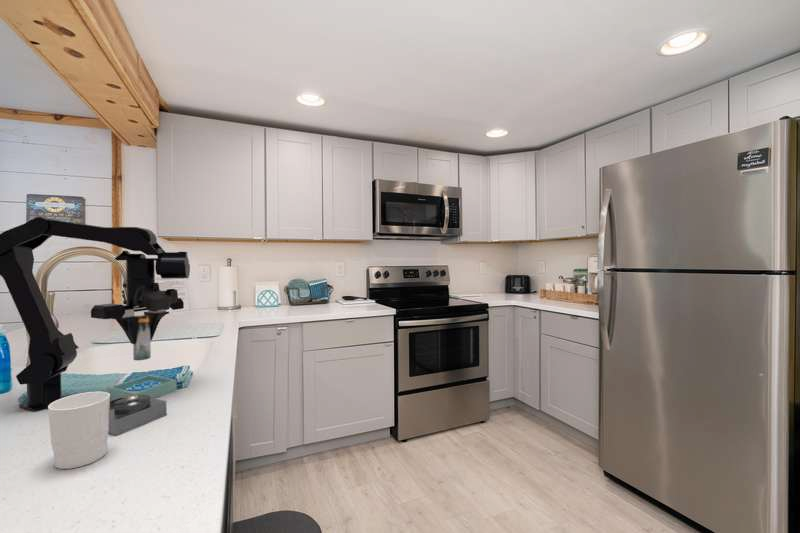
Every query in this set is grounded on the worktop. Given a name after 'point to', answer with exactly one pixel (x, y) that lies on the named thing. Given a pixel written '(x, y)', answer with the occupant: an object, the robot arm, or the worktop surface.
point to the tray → (152, 392)
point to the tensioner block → (133, 412)
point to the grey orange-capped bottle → (142, 338)
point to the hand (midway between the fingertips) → (141, 342)
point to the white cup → (79, 428)
